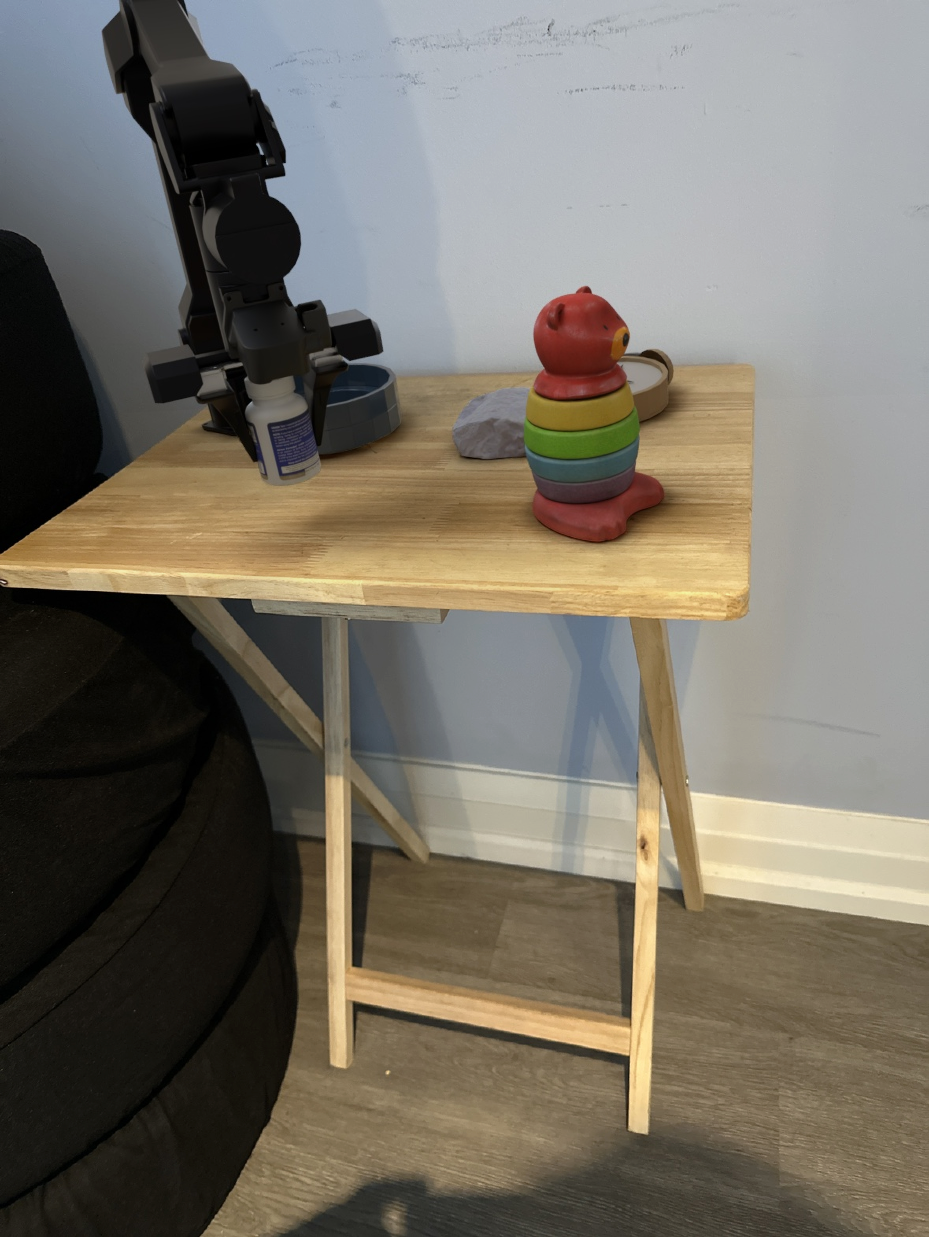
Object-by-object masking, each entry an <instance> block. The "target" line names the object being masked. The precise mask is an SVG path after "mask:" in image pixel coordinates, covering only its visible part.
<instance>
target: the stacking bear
mask: <svg viewBox="0 0 929 1237" xmlns="http://www.w3.org/2000/svg"><path fill="white" fill-rule="evenodd" d="M532 337H533V344H534V349H535V352H536V355H537V358H538V360H539V362H540V363H541V365H542V366H543V369H542V370H541V371H540V372H538V374H537V376H536V377H535V379H534V381H533V385H532V386H531V387H530V388H531V389H530V391H529V394H528V399H527V405H526V417H525V422H524V442H525V452H526V456H525V457H526V460H527V462H528V466H529V469H530V471H531V475H532V478H533V480H534V484H535V485H536V489H535V492H534V495H533V499H532V513H533V515H534V516H535V518H536V519H537V520H538V521H539V522H540V523H541V524H543V525H544V526H546V527H547V528H549V529H551V530H553V531H555V532H557V533H559V534H562V535H565V536H568V537H571V538H575V539H577V540H578V539H579V540H583V541H589V542H590V541H591V542H605V541H610V540H614V539H616V538H618V537H619V536H621V535H623V534H624V533H625V532H626V531H627V521H628V519H629V518H630V517H631V516H632V515H633V514H635V513H637V512H639V511H642V510H645V509H648V508H651V507H654V506H657V505H658V504H659V503H660V502H661V501H662V500H663V499H664V498H665V490H664V487H663V485H662V483H661V482H660V481H659V480H658V479H657V478H655V477H653V476H651V475H649V474H645V473H642V472H638V471H636V468H637V467H636V466H637V459H638V455H639V448H640V438H641V436H640V432H641V426H640V422H639V419H638V414H637V410H636V407H635V406H634V400H633V396H632V392H631V389H630V386H629V383H628V381H627V375H626V373H625V371H624V370H623V369H622V368H621V367H620V366H619V365H618V364H617V362H618V361H619V359H620V358H621V357H622V356H623V355H624V353H626V351H627V349H628V346H629V343H630V339H631V333H630V329H629V327H628V324H627V323H626V322H625V320H624V319H623V318H622V317H621V315H620V314H619V313H618V312H617V310H616V309H615V308H614V307H613V305H612V304H611V303H610V302H609V301H608V300H606V298H603V297H602V296H600V295H599V294H598V295H597V294H596V293H593V290H592V288H591V287H590V286H588V285H584V286H581V287H579V288H578V289H576V290H575V292H574V293H567V294H562V295H560V296H557V297H555V298H553V299H552V300H549V301H548V302H547V303H546V304H545V305H544V306H543V307H542V309H540V312H539V313H538V314H537V317H536V319H535V322H534V325H533V333H532Z"/></svg>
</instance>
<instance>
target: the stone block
mask: <svg viewBox="0 0 929 1237" xmlns="http://www.w3.org/2000/svg"><path fill="white" fill-rule="evenodd" d="M530 389H531V387H525V386H518V387H517V386H516V387H514V386H513V387H503V388H500V389H496V390H495V391H492V392H486V393H485V392H484V393H483V394H481V395H477V396H475V397H474V398H471V399H470V400H469V401H468V404H467V405H465V406H464V407H463V408H462V410H460V413H458V414H459V415H458V417H457V419H456V422H454V424H453V426H452V432H451V434H452V441H453V444H454V446H455V448H456V450H457V451H458V453H460V455H461V456H463V457H469V458H474V459H481V460H493V459H503V458H520V457H527V456H526V452H525V442H524V422H525V417H526V405H527V399H528V394H529V391H530Z"/></svg>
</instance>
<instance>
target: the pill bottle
mask: <svg viewBox="0 0 929 1237" xmlns="http://www.w3.org/2000/svg"><path fill="white" fill-rule="evenodd" d="M244 382H245V386H246V391H247V394H248V397H249V398H251V399H252V402H251V403H250V404H249V405H248V406H247V408H246V410H245V417H246V422H247V425H248V429H249V430H248V431H249V433H250V436H251V439H252V441H253V444H254V446H255V450H256V455H257V459H258V462H256V464H257V467H258V471H259V474H260V478H261V480H262V482H263V483H265V484H266V485H269V486H273V487H288V486H294V485H299V484H302V483H304V482H307V481H309V480H311V479H313V478H315V477H316V476H317V475H318V474H319V473H320V471H321V468H322V464H321V459H320V456H319V455H318V450H317V446H316V441H315V437H314V432H313V428H312V423H311V419H310V414H309V409H308V405H307V402H306V400H305V399H304V398H303V397H302V396H301V395H299V394H296V393H294V390H295V382H294V378H293V376H289V377H284V378H280V379H276V380H273V381H272V382H271V383H268V384H263V385H258V384H254V383H252V382H250V381H249V379H248V377H246V378H245V380H244Z"/></svg>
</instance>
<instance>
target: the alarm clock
mask: <svg viewBox="0 0 929 1237" xmlns="http://www.w3.org/2000/svg"><path fill="white" fill-rule="evenodd" d="M617 364H618V365H619V366H620V367H621V368H622V369H623V370H624V371H625V373H626V375H627V381H628V383H629V386H630V389H631V392H632V396H633V400H634V406H635V407H636V410H637V414H638V419H639V423H640V422H642V421H645V420H648V419H651V418H653V417H654V416H656V415H658V414H660V413H661V412H662V411H663V410H665V408H666V407H667V406H668V404H669V398H670V397H669V396H670V395H669V386H670V384H672V381H673V379H674V364H673V362H672V360H671V358H670V357H669V356H668V354H667V353H665V352H664V351H663V350H661V349H658V348H648V349H645V350H643V351H641V352H637V351H636V352H625V353H624V355H623V356H622V357H621V358H620V359H619V361H618V362H617Z"/></svg>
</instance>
